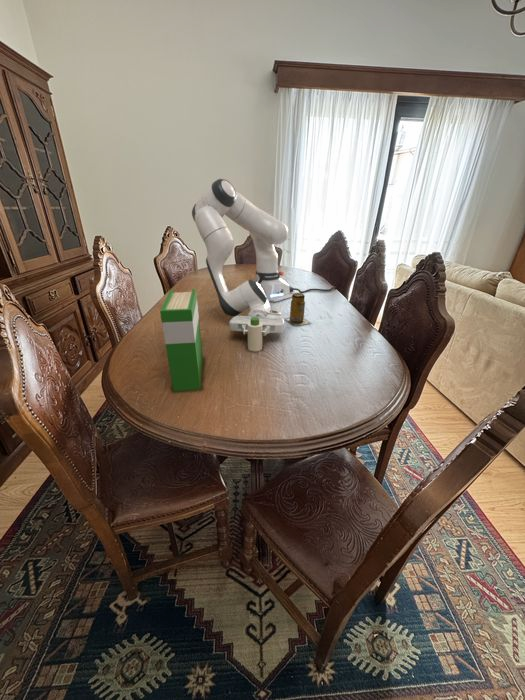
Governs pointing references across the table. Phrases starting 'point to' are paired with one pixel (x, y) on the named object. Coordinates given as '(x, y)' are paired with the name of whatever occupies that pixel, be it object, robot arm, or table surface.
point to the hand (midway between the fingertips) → (254, 333)
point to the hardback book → (183, 339)
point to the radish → (254, 335)
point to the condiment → (297, 310)
